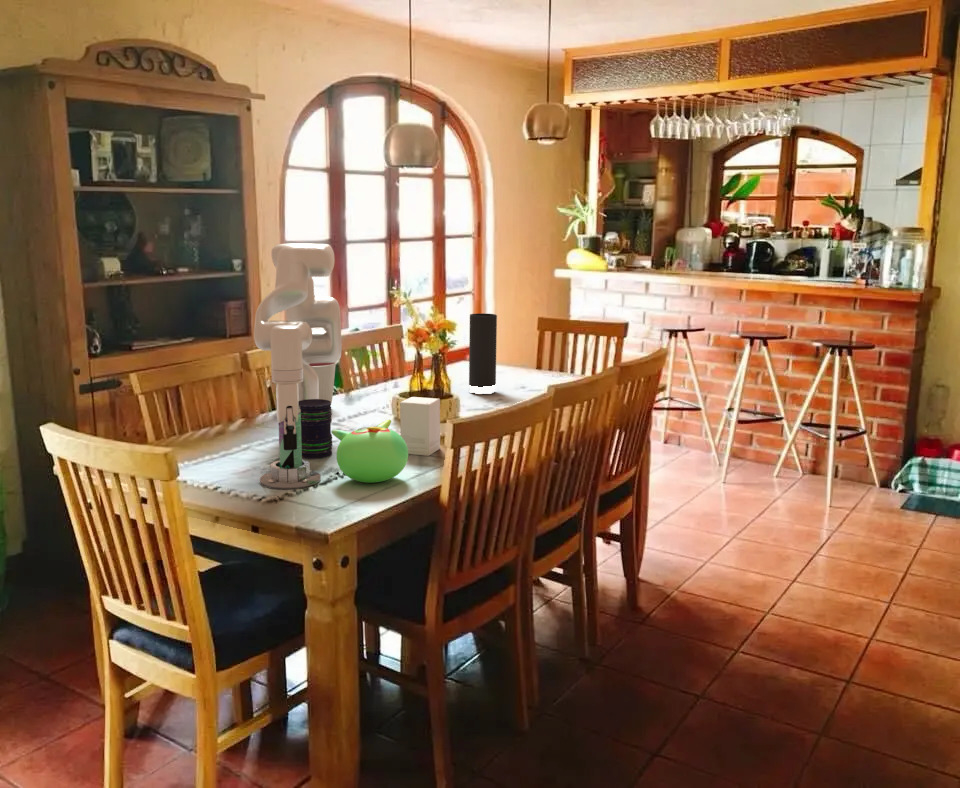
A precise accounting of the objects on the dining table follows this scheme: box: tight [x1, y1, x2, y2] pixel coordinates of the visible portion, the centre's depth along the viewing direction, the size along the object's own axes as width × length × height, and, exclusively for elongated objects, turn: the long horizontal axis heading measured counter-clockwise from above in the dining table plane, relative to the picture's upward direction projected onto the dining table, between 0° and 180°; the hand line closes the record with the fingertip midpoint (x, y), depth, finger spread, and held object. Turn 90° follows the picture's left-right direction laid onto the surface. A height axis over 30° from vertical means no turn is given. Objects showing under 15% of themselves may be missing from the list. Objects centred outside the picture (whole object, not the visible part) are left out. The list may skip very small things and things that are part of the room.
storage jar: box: [299, 399, 333, 460], centre depth 244 cm, size 10×10×15 cm
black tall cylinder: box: [468, 313, 498, 387], centre depth 334 cm, size 10×10×30 cm
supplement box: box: [399, 396, 441, 457], centre depth 249 cm, size 9×9×15 cm
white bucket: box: [309, 361, 338, 404], centre depth 302 cm, size 18×18×21 cm
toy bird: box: [331, 419, 409, 484], centre depth 220 cm, size 18×17×15 cm
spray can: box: [278, 406, 303, 468], centre depth 219 cm, size 6×6×20 cm
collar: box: [259, 459, 322, 490], centre depth 220 cm, size 15×15×4 cm
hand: (289, 445), depth 219 cm, fingers closed on spray can, 5 cm apart
